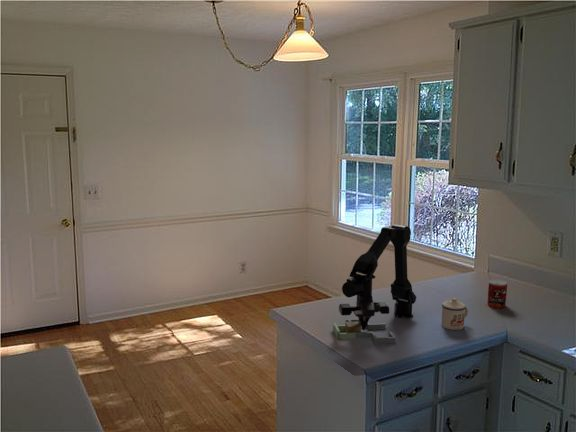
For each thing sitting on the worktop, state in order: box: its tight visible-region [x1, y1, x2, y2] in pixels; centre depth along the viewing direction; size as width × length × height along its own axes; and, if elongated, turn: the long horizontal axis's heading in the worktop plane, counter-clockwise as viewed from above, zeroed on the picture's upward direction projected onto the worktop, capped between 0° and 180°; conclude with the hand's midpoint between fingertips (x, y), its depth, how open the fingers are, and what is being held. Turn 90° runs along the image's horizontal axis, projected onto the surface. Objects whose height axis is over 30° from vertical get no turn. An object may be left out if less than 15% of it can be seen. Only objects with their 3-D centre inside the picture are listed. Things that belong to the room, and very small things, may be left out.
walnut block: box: [344, 321, 362, 333], centre depth 210 cm, size 5×5×4 cm
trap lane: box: [332, 318, 396, 345], centre depth 210 cm, size 21×20×3 cm
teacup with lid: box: [441, 297, 469, 331], centre depth 218 cm, size 12×9×12 cm
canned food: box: [487, 279, 508, 309], centre depth 241 cm, size 8×8×11 cm
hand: (363, 329), depth 210 cm, fingers closed
